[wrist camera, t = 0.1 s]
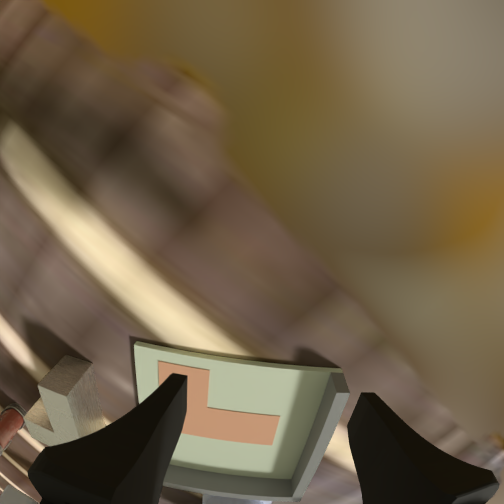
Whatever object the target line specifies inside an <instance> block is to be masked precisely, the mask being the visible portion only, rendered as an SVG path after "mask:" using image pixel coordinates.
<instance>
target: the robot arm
mask: <svg viewBox="0 0 504 504" xmlns="http://www.w3.org/2000/svg"><path fill="white" fill-rule="evenodd" d="M187 380H188V375H182V374H177V373H172V374H170V375H169V376H168V377H167V379H166V380H165V381H164V382H163V383H162V384H161V385H160V386H159V387H158V388H157V389H156V390H155V391H154V392H153V393H151V394H150V395H149V396H148V397H147V398H146V399H145V400H144V401H142V402H141V403H140V404H139V405H137V406H136V407H135V408H134V409H132V410H131V411H130V412H128V413H127V414H125V415H124V416H123V417H121V418H119V419H118V420H116V421H115V422H113V423H111V424H109V425H108V426H106V427H104V428H102V429H100V430H98V431H96V432H94V433H92V434H89V435H87V436H84V437H81V438H79V439H76V440H73V441H70V442H66V443H62V444H58V445H54V446H49V447H45V448H44V449H43V451H42V452H41V453H40V454H39V455H38V457H37V458H36V460H35V461H34V463H33V464H32V466H31V467H30V469H29V470H28V477H29V479H30V481H31V483H32V484H33V486H34V487H35V488H36V490H37V491H38V493H39V494H40V495H41V497H42V500H41V502H40V504H158V502H159V498H160V493H161V489H162V485H163V481H164V478H165V475H166V472H167V469H168V466H169V464H170V461H171V458H172V456H173V453H174V451H175V448H176V445H177V443H178V440H179V438H180V435H181V432H182V429H183V425H184V421H185V417H186V412H187ZM347 428H348V438H349V445H350V449H351V453H352V456H353V460H354V464H355V468H356V471H357V475H358V479H359V482H360V487H361V492H362V500H363V504H485V503H486V502H487V501H488V500H489V499H490V498H491V497H492V496H493V495H494V494H495V493H496V491H497V490H498V488H499V483H498V481H497V479H496V477H495V476H494V474H493V472H492V471H491V470H487V469H484V468H480V467H477V466H474V465H471V464H468V463H466V462H464V461H461V460H459V459H457V458H455V457H453V456H451V455H449V454H447V453H445V452H443V451H442V450H440V449H438V448H437V447H435V446H434V445H432V444H431V443H429V442H428V441H427V440H425V439H424V438H423V437H421V436H420V435H419V434H418V433H416V432H415V431H414V430H413V429H412V428H410V427H409V426H408V425H407V424H406V423H405V422H404V421H403V420H402V419H401V418H400V417H399V416H398V415H397V414H396V413H395V412H394V411H393V410H392V409H391V408H390V407H389V406H388V405H387V404H386V403H385V402H384V401H383V400H382V399H381V398H380V397H378V396H377V395H376V394H375V393H365V392H361V394H360V397H359V399H358V402H357V404H356V406H355V409H354V411H353V413H352V416H351V418H350V420H349V422H348V425H347ZM271 503H272V501H262V500H249V499H238V498H229V497H221V496H214V495H207V494H203V500H202V504H271ZM0 504H39V503H38V502H36V501H35V500H34V499H32V498H31V497H29V496H27V495H26V494H24V493H22V492H21V491H19V490H17V489H16V488H14V487H12V486H11V485H7V487H6V488H5V490H4V491H3V493H2V494H1V496H0Z"/></svg>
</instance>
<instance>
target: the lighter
mask: <svg viewBox="0 0 504 504" xmlns="http://www.w3.org/2000/svg"><path fill="white" fill-rule="evenodd" d="M26 414H27V412H26V411H25V410H24V409H23V408H22V407H21V406H20V405H19V404H17V403H13V404H10V405H8V406H7V407H6V408H5V409H4V410H3V411H2V413H1V416H0V456H1V455H2V453H3V451H4V450H5V449H6V448H7V447H8V445H9V444H10V443H11V442H12V441H11V439H12V438H13V436H14V435H15V434H16V433H17V431H18V430H20V429H22V427H23V426H24V425H25V424H26V423H25V421H24V419H23V418H24V416H25V415H26Z"/></svg>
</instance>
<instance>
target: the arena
mask: <svg viewBox="0 0 504 504" xmlns="http://www.w3.org/2000/svg"><path fill="white" fill-rule="evenodd" d="M134 353H135V367H136V378H137V388H138V398H139V404H140V403H141V402H142V401H144V400H145V399H146V398H147V397H148V396H149V395H150V394H151V393H153V392H154V391H155V390H156V389H157V388H158V387H159V386H160V385H161V384H162V383H163V382H164V381H165V380H166V379H167V377H168V376H169V375H170V374H172V373H177V374H182V375H188V380H187V412H186V417H185V421H184V425H183V429H182V432H181V435H180V438H179V440H178V443H177V445H176V448H175V451H174V453H173V456H172V458H171V461H170V464H169V466H168V469H167V472H166V475H165V478H164V481H163V485H162V486H166V487H170V488H175V489H180V490H185V491H190V492H195V493H201V494H207V495H214V496H221V497H229V498H238V499H249V500H262V501H283V502H300V500H301V498H302V496H303V495H304V493H305V491H306V489H307V487H308V485H309V483H310V481H311V479H312V477H313V475H314V473H315V471H316V469H317V467H318V465H319V463H320V461H321V459H322V457H323V455H324V453H325V451H326V449H327V446H328V444H329V442H330V440H331V438H332V435H333V433H334V431H335V428H336V426H337V424H338V421H339V419H340V417H341V414H342V412H343V409H344V407H345V404H346V402H347V399H348V397H349V394H350V392H349V389H348V386H347V383H346V380H345V377H344V374H343V371H342V369H341V368H325V367H310V366H298V365H287V364H277V363H267V362H259V361H250V360H243V359H235V358H228V357H221V356H214V355H208V354H202V353H196V352H190V351H184V350H179V349H173V348H168V347H163V346H158V345H153V344H148V343H143V342H139V341H136V343H135V344H134Z"/></svg>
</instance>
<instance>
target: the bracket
mask: <svg viewBox="0 0 504 504" xmlns="http://www.w3.org/2000/svg"><path fill="white" fill-rule="evenodd" d="M38 389H39V392H40V395H41V397H40V398H39V400H38V401H37V402H36V403H35V404H34V406H33V407H32V408H31V409H30V410H29V411H28V413H27V414H26V415H25V416H24V418H23V419H24V421H25V423H26V426H27V428H28V430H29V432H30V434H31V436H32V438H34V439H36V440H38V441H40V442H42V443H44V444H46V445H49V446H54V445H58V444H62V443H66V442H70V441H73V440H76V439H79V438H81V437H84V436H87V435H89V434H92V433H94V432H96V431H98V430H100V429H102V428H104V427H106V426H105V422H104V417H103V413H102V409H101V404H100V399H99V395H98V390H97V384H96V379H95V373H94V368H93V363H91V362H87V361H84V360H81V359H78V358H74V357H71V356H68V355H65V356H64V357H63V358H62V359H61V360H60V361H59V362H58V363H57V364H56V365H55V366H54V367H53V369H52V370H51V371H50V372H49V373H48V374H47V375H46V376H45V377H44V378H43V379H42V380H41V382H40V383H39V384H38Z"/></svg>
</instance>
